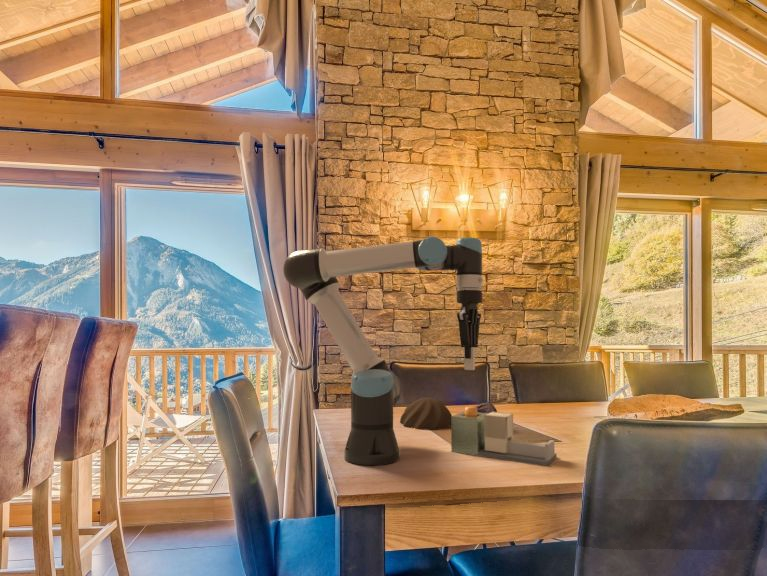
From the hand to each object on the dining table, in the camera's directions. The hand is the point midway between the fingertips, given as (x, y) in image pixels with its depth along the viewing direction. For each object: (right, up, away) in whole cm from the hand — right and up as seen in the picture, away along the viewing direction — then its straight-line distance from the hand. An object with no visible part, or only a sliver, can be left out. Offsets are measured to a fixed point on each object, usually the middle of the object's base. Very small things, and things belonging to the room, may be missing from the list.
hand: (469, 369), depth 148 cm
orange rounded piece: (0, -15, -1) cm, 16 cm away
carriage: (+7, -22, -6) cm, 24 cm away
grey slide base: (+12, -23, -9) cm, 27 cm away
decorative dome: (-9, -26, +35) cm, 45 cm away
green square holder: (0, -23, -2) cm, 23 cm away
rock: (+10, -25, +27) cm, 38 cm away
